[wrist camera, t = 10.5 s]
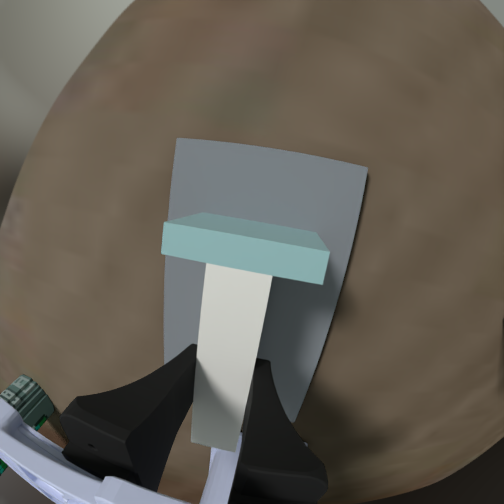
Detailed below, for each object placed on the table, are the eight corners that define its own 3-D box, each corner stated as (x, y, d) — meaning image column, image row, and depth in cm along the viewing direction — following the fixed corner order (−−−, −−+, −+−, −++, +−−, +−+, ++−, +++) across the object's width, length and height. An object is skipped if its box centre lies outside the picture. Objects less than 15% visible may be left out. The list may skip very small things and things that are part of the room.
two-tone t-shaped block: (275, 401, 17) (269, 458, 12) (186, 382, 17) (159, 431, 13) (316, 232, 15) (330, 252, 10) (202, 212, 15) (164, 222, 10)
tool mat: (294, 416, 19) (294, 422, 19) (168, 389, 20) (165, 394, 19) (365, 167, 14) (368, 167, 13) (181, 138, 15) (177, 137, 14)
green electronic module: (33, 403, 27) (-22, 465, 12) (15, 370, 25) (-50, 431, 11) (60, 417, 26) (2, 489, 12) (40, 382, 24) (-30, 456, 10)
